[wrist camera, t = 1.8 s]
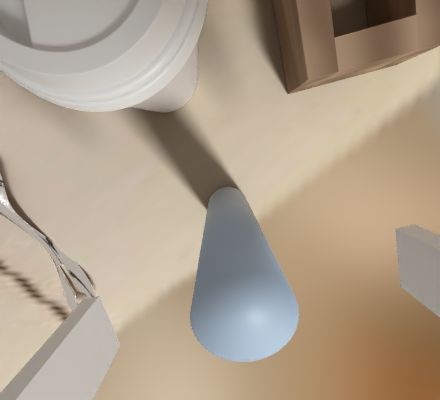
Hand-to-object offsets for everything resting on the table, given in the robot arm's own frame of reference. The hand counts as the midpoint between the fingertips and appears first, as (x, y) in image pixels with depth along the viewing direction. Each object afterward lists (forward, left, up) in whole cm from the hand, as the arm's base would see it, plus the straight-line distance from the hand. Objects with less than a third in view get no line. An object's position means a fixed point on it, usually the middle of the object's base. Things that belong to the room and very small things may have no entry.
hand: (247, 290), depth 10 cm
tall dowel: (0, 0, -14) cm, 14 cm away
